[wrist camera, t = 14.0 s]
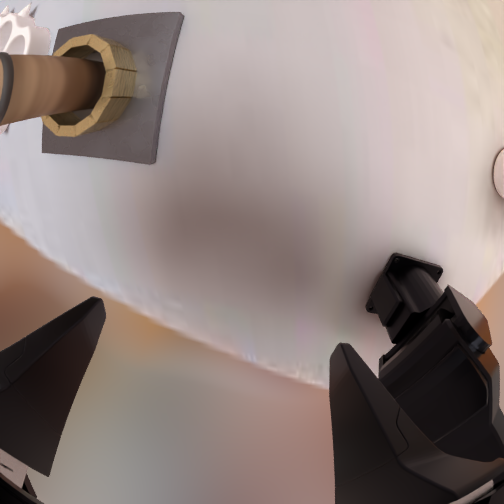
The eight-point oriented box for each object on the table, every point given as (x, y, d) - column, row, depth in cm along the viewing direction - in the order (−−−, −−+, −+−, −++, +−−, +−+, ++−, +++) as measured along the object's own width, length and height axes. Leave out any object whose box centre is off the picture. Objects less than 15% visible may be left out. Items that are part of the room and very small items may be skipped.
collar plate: (184, 15, 13) (165, -2, 10) (155, 161, 19) (131, 174, 16) (65, 30, 13) (36, 25, 9) (48, 150, 19) (20, 161, 15)
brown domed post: (121, 58, 14) (-7, 43, 4) (112, 111, 16) (-19, 138, 6) (79, 62, 14) (-41, 64, 4) (72, 111, 16) (-49, 142, 6)
